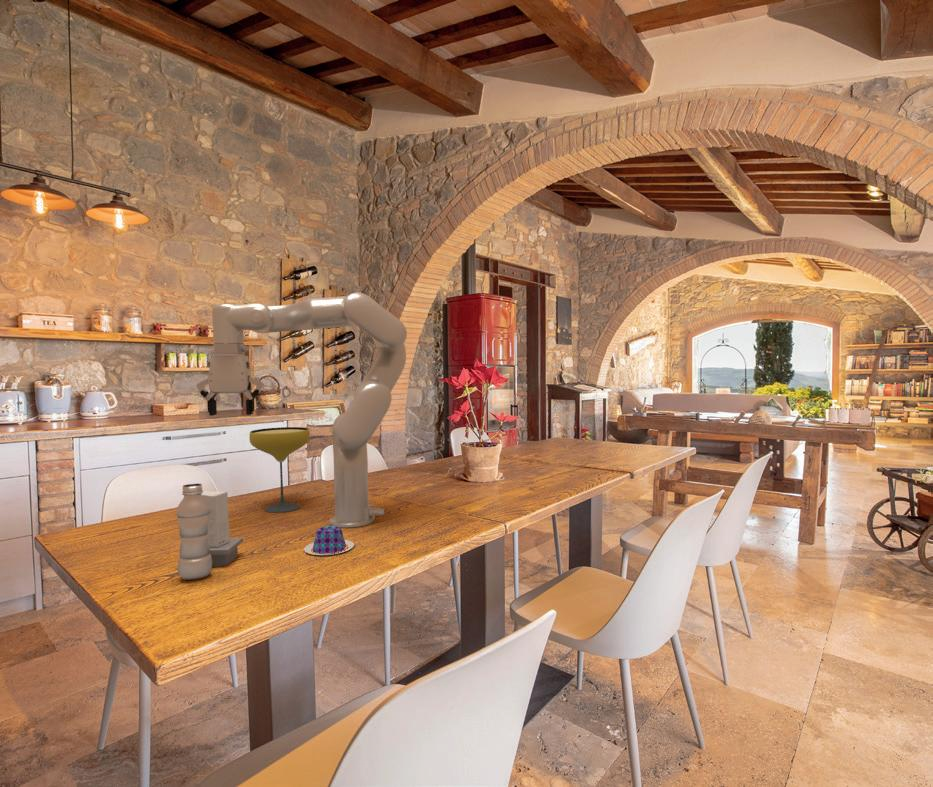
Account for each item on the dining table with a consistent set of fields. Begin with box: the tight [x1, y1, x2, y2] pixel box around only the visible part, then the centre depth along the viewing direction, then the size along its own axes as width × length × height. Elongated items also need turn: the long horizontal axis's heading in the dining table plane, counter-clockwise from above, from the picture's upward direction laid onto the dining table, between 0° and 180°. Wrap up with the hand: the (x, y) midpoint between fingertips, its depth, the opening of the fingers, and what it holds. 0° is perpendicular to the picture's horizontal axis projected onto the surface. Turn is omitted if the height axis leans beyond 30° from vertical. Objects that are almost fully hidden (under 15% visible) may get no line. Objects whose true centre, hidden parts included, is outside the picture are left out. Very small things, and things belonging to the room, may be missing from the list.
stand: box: [209, 537, 244, 567], centre depth 128 cm, size 10×9×4 cm
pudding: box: [303, 525, 355, 556], centre depth 135 cm, size 12×12×5 cm
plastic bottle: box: [175, 483, 213, 581], centre depth 117 cm, size 6×7×20 cm
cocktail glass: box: [249, 426, 311, 514], centre depth 175 cm, size 18×18×25 cm
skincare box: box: [202, 490, 231, 547], centre depth 127 cm, size 6×4×12 cm
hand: (231, 414), depth 147 cm, fingers open, 9 cm apart
